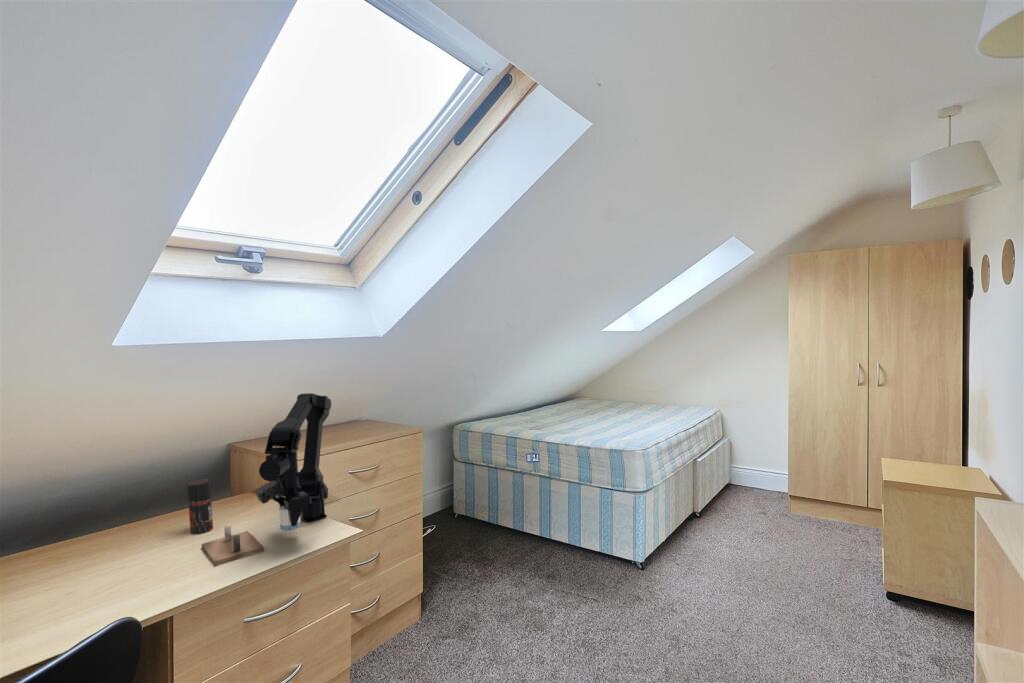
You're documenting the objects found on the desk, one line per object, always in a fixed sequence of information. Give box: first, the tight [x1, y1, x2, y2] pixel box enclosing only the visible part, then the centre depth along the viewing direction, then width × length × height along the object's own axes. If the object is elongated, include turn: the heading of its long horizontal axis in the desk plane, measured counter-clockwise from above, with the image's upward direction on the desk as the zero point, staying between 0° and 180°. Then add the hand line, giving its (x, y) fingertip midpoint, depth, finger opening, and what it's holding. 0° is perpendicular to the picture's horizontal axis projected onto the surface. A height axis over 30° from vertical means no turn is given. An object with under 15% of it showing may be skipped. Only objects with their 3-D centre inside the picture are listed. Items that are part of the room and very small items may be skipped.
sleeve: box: [278, 506, 302, 532], centre depth 150 cm, size 5×5×6 cm
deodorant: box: [186, 478, 214, 535], centre depth 159 cm, size 6×6×15 cm
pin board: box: [201, 525, 265, 567], centre depth 145 cm, size 12×15×5 cm
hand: (290, 523), depth 150 cm, fingers closed on sleeve, 5 cm apart
